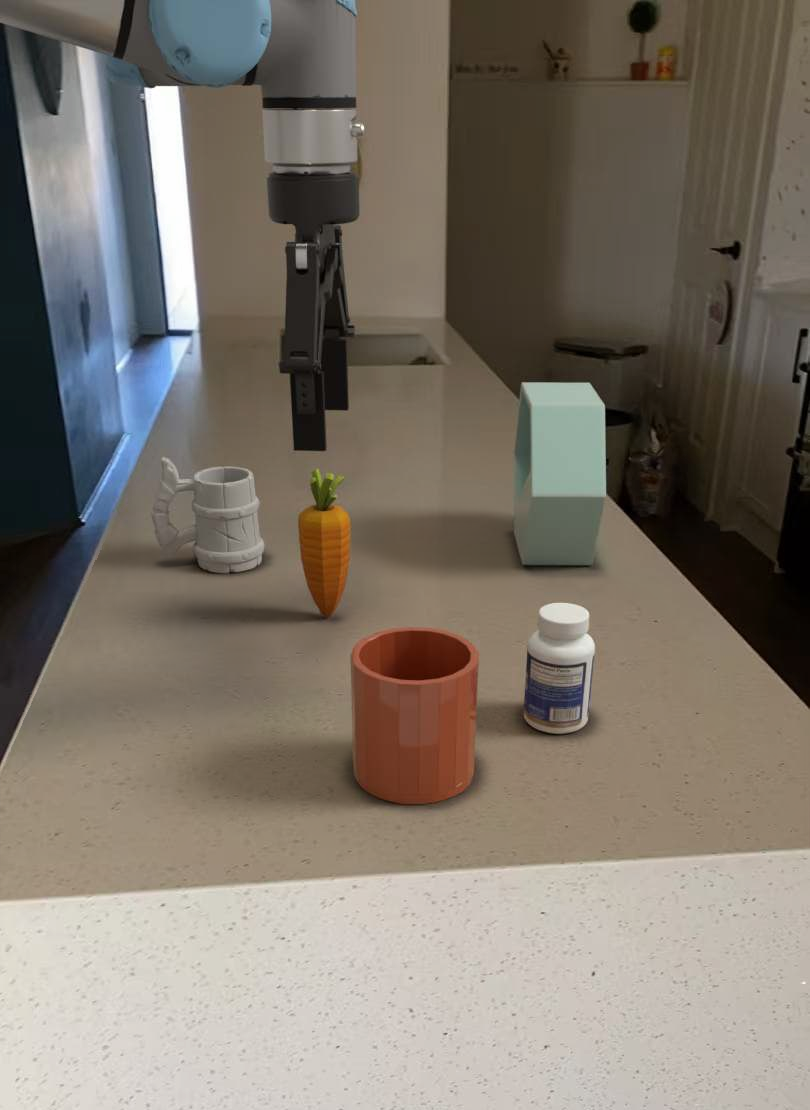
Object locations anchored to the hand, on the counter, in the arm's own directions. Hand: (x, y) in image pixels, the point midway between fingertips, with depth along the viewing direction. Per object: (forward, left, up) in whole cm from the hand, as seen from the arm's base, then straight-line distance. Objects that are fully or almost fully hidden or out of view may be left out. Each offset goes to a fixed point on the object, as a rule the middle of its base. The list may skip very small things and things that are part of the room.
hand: (323, 428), depth 99 cm
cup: (+11, -27, -19) cm, 35 cm away
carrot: (0, 0, -19) cm, 19 cm away
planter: (+22, +21, -19) cm, 36 cm away
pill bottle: (+22, -18, -19) cm, 34 cm away
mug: (-15, +13, -19) cm, 28 cm away
